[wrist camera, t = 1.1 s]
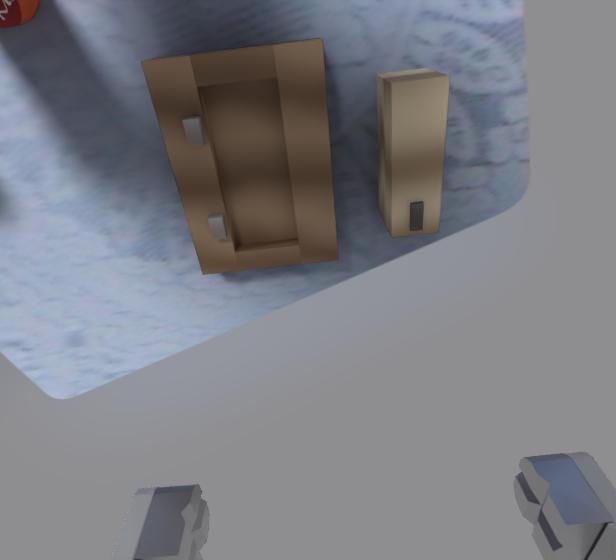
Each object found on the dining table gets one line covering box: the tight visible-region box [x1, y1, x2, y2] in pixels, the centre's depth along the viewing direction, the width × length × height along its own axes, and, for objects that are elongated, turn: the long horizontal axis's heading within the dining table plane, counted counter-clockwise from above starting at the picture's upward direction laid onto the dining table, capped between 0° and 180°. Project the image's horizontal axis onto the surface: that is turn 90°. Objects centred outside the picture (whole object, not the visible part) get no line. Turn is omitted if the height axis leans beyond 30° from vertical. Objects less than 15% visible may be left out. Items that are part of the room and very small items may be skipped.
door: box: [377, 68, 450, 238], centre depth 33 cm, size 12×4×6 cm, turn 6°
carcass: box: [141, 38, 338, 275], centre depth 34 cm, size 18×13×4 cm
